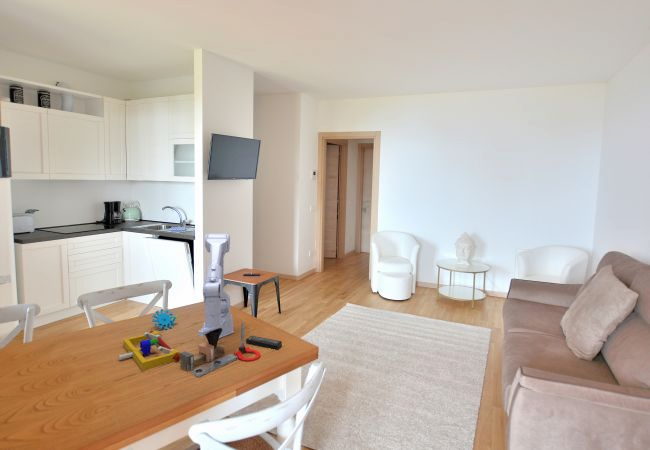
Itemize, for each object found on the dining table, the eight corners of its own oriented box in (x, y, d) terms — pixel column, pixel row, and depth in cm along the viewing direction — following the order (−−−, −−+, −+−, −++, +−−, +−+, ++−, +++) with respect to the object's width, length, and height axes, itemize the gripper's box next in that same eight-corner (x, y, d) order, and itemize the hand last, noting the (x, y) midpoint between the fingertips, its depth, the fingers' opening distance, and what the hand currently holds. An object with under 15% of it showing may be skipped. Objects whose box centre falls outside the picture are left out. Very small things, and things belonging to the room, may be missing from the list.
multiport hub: (277, 351, 157) (277, 345, 157) (245, 344, 162) (245, 339, 162) (282, 346, 161) (282, 341, 161) (251, 340, 167) (251, 335, 166)
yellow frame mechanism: (155, 321, 168) (182, 345, 146) (156, 335, 169) (183, 361, 147) (107, 331, 156) (129, 359, 134) (108, 346, 157) (129, 377, 135)
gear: (155, 329, 170) (151, 308, 175) (150, 335, 173) (147, 315, 178) (180, 326, 177) (176, 307, 182) (175, 333, 181) (171, 313, 186)
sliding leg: (205, 355, 151) (205, 342, 150) (215, 360, 147) (215, 346, 146) (198, 358, 148) (198, 344, 148) (209, 363, 145) (208, 349, 144)
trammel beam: (217, 350, 155) (217, 338, 154) (227, 355, 152) (227, 342, 151) (179, 367, 141) (179, 353, 141) (189, 372, 138) (188, 358, 137)
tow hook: (264, 357, 152) (249, 349, 158) (265, 325, 150) (250, 318, 156) (247, 365, 145) (231, 356, 151) (248, 332, 143) (232, 324, 149)
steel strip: (230, 356, 151) (230, 353, 151) (237, 359, 149) (237, 356, 148) (191, 373, 137) (191, 370, 137) (198, 377, 135) (198, 374, 135)
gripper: (215, 305, 156) (215, 338, 158) (191, 318, 143) (191, 353, 145) (230, 308, 154) (230, 341, 156) (207, 321, 140) (207, 357, 142)
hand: (213, 347), depth 150 cm, fingers closed
